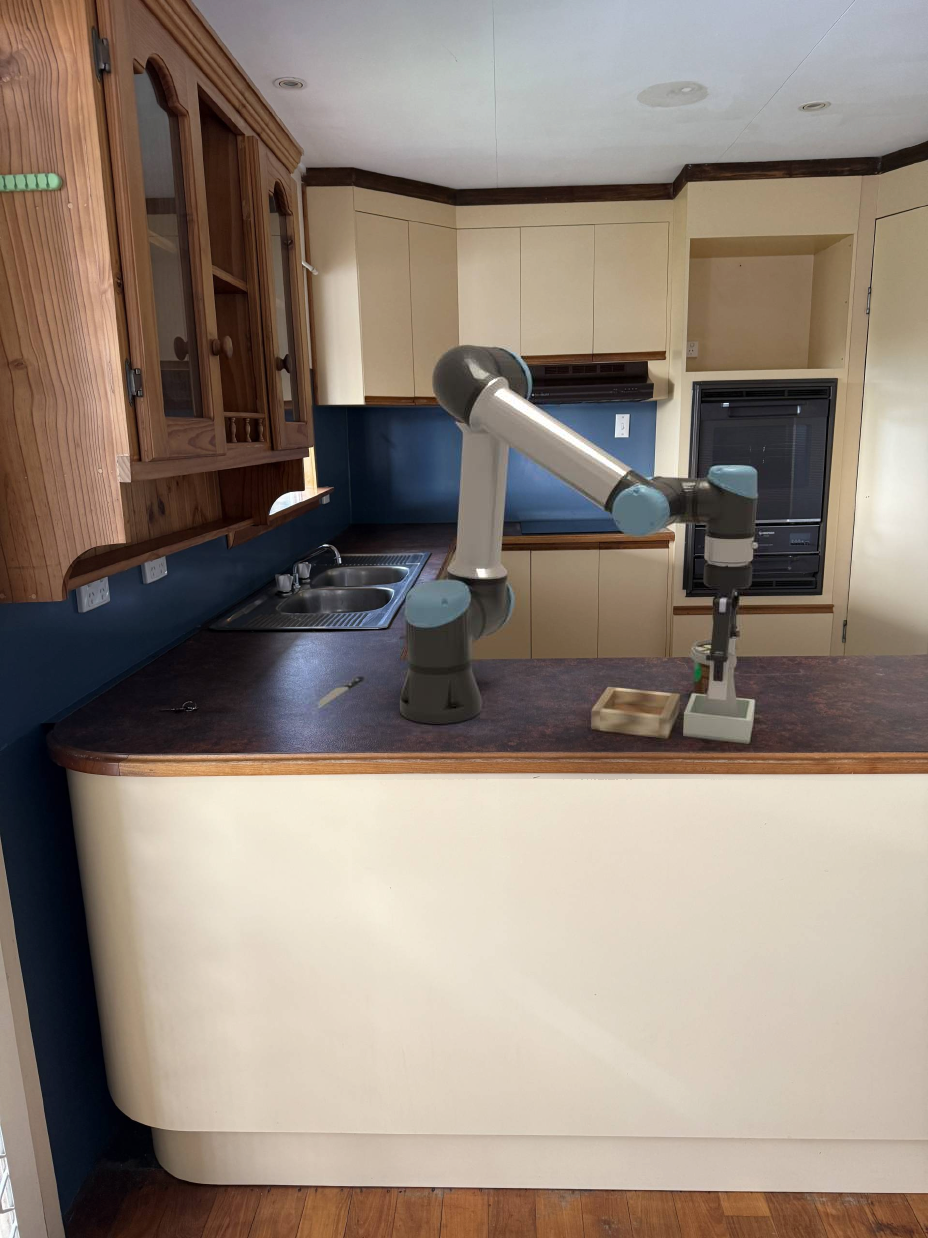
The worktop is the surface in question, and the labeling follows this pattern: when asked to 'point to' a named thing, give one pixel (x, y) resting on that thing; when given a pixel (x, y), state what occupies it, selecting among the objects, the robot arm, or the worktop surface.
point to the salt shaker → (730, 704)
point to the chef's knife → (338, 692)
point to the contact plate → (637, 709)
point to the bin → (719, 721)
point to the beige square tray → (635, 721)
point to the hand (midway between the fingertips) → (721, 685)
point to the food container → (702, 665)
